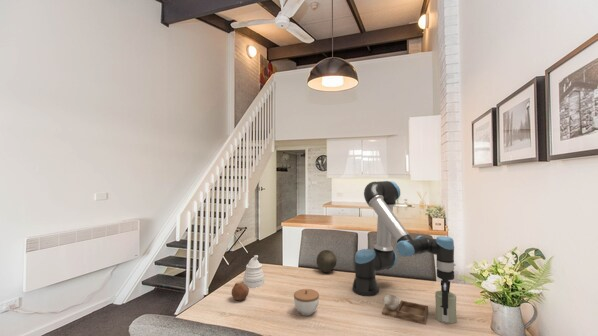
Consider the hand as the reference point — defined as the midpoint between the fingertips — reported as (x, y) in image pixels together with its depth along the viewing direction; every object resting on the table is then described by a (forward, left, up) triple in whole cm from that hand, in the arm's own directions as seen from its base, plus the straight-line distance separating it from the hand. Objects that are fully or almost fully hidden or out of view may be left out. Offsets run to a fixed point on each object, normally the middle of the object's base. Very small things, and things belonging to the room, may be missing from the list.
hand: (445, 316), depth 139 cm
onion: (-101, -31, -1) cm, 106 cm away
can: (0, 0, -1) cm, 1 cm away
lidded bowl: (-62, -26, -1) cm, 67 cm away
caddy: (-18, -4, -1) cm, 18 cm away
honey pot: (-108, -10, -1) cm, 108 cm away
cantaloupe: (-76, +31, -1) cm, 82 cm away
